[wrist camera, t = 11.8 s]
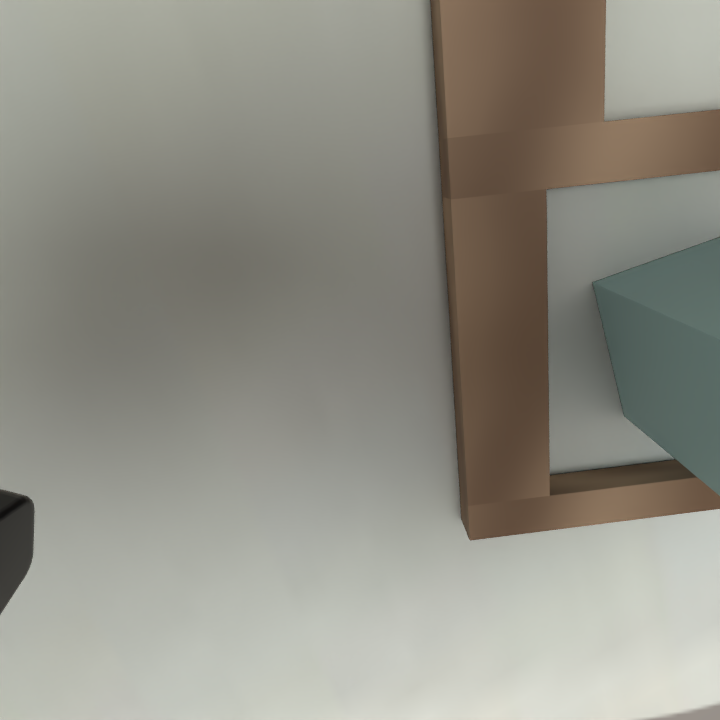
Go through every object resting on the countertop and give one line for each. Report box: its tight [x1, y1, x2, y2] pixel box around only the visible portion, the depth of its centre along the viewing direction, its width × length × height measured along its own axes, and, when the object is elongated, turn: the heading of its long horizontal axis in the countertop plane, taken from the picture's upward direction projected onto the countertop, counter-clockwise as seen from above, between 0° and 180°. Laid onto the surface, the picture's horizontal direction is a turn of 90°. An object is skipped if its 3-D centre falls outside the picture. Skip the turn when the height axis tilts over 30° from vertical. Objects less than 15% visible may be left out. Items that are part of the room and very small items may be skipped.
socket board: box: [430, 0, 720, 540], centre depth 17 cm, size 14×19×2 cm
